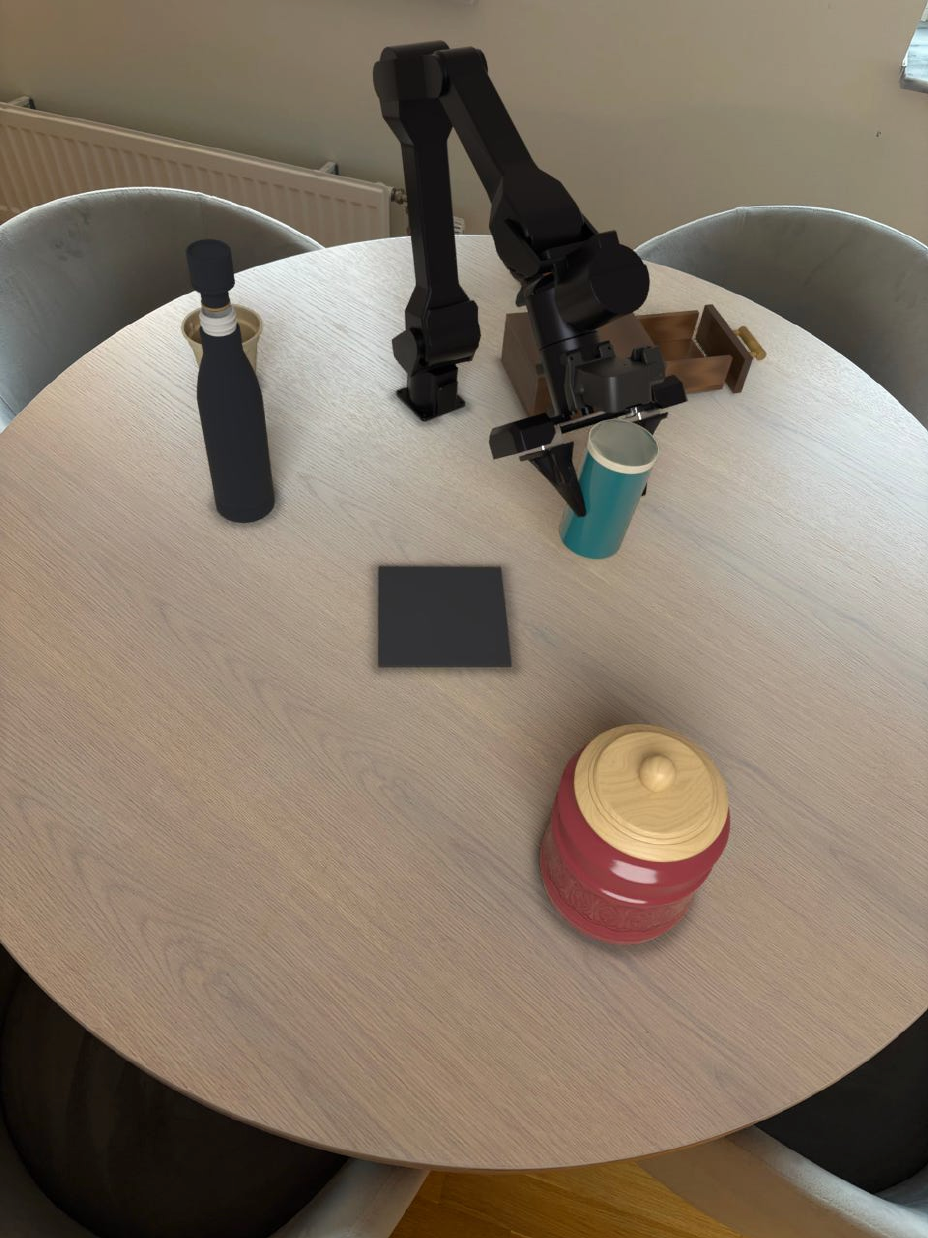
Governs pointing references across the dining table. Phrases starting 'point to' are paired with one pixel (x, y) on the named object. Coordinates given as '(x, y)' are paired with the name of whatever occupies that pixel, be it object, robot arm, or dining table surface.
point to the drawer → (714, 339)
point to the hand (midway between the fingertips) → (612, 506)
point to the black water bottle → (229, 393)
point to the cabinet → (524, 356)
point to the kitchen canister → (633, 833)
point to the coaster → (442, 617)
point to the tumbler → (609, 487)
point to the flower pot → (248, 326)
